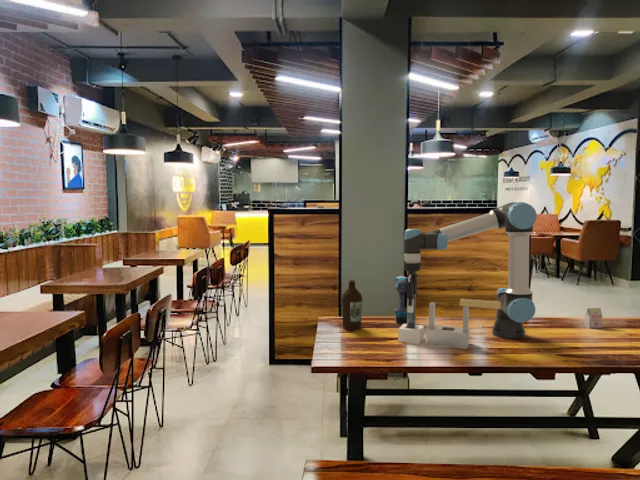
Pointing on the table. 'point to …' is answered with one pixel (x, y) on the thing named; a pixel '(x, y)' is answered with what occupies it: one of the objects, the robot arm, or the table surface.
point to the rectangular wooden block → (480, 303)
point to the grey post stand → (448, 331)
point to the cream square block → (411, 334)
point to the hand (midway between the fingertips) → (411, 311)
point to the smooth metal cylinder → (412, 315)
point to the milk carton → (593, 318)
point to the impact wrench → (401, 299)
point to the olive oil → (351, 307)
